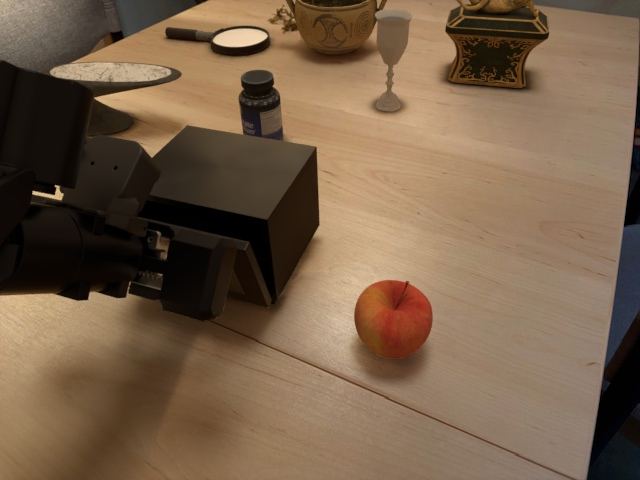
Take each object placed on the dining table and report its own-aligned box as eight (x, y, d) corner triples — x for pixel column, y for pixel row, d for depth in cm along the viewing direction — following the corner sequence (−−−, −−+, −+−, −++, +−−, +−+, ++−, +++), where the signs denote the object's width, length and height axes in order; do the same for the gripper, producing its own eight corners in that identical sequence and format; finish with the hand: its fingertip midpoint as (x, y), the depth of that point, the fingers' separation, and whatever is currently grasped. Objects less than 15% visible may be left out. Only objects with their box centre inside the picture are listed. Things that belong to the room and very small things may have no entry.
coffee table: (38, 134, 86) (14, 79, 80) (64, 108, 93) (44, 56, 86) (183, 141, 83) (170, 85, 77) (200, 115, 90) (190, 61, 83)
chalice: (411, 110, 89) (420, 18, 79) (380, 116, 87) (385, 24, 77) (395, 94, 93) (401, 6, 83) (365, 100, 92) (368, 11, 82)
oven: (279, 314, 56) (267, 219, 47) (150, 280, 60) (118, 188, 52) (320, 237, 65) (316, 146, 56) (206, 212, 69) (186, 124, 61)
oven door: (251, 347, 51) (223, 294, 43) (121, 309, 56) (72, 254, 47) (272, 300, 54) (249, 241, 46) (146, 267, 58) (104, 208, 50)
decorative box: (533, 69, 99) (562, -47, 86) (534, 92, 92) (566, -31, 79) (426, 61, 103) (438, -51, 90) (420, 82, 96) (432, -36, 83)
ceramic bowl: (275, 63, 105) (267, -18, 95) (290, 32, 117) (285, -42, 107) (387, 67, 102) (392, -16, 92) (391, 34, 114) (395, -42, 104)
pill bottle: (238, 141, 83) (227, 74, 75) (271, 129, 85) (264, 63, 78) (256, 158, 79) (248, 89, 71) (291, 145, 81) (286, 77, 74)
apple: (338, 345, 53) (337, 290, 47) (385, 305, 56) (390, 250, 51) (395, 389, 49) (402, 335, 43) (442, 343, 52) (453, 288, 47)
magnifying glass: (182, 27, 121) (180, 17, 120) (278, 36, 115) (278, 26, 114) (153, 47, 113) (151, 37, 111) (255, 59, 107) (254, 48, 105)
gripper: (199, 150, 31) (285, 191, 46) (-37, 107, 36) (109, 157, 51) (159, 332, 31) (258, 314, 46) (-72, 264, 36) (84, 268, 51)
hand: (174, 257), depth 49 cm, fingers closed, pressing on oven door
